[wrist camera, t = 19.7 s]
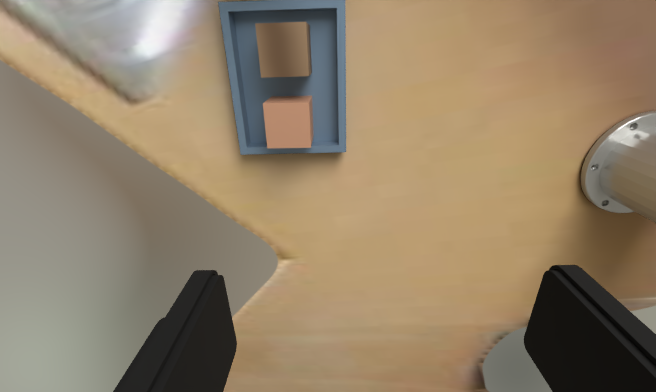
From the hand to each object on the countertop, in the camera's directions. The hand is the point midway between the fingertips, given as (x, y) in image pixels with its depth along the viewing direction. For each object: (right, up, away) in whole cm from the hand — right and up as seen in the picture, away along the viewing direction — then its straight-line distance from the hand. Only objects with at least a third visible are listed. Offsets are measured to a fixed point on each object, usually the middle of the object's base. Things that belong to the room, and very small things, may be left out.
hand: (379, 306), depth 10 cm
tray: (-6, +16, +26) cm, 31 cm away
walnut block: (-6, +19, +24) cm, 31 cm away
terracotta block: (-6, +12, +27) cm, 30 cm away
